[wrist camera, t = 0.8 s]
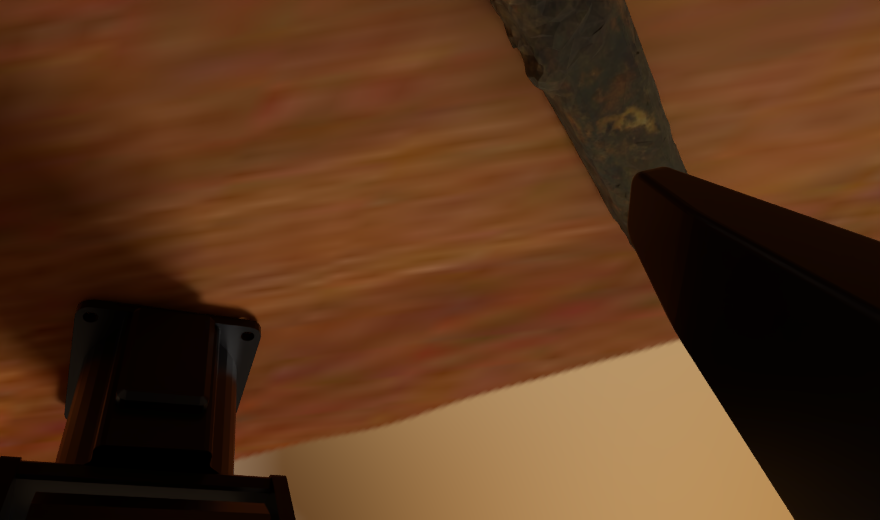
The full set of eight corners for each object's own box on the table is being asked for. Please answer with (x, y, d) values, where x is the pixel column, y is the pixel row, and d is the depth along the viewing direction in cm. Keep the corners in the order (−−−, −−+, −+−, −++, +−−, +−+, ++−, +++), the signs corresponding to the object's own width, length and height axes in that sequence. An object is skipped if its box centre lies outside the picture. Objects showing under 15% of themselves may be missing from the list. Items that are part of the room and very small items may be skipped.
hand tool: (393, -141, 17) (427, -105, 14) (527, -232, 16) (599, -219, 13) (606, 283, 29) (653, 359, 26) (688, 240, 29) (747, 312, 25)
